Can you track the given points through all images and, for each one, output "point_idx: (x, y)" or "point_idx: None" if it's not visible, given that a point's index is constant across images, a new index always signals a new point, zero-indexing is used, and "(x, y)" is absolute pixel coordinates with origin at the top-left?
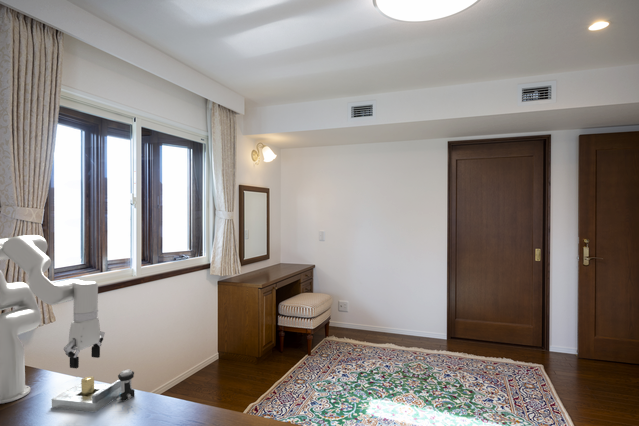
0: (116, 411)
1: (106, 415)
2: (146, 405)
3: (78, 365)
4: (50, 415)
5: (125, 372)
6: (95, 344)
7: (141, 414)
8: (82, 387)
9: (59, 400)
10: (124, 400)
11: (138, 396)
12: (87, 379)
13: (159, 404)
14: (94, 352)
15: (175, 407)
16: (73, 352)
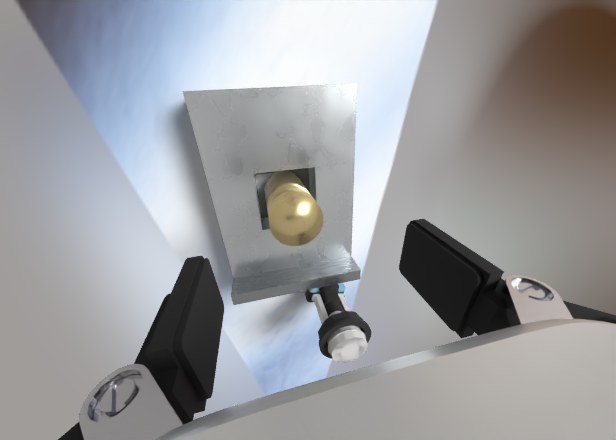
0: (260, 308)
1: (236, 304)
2: (303, 337)
3: (220, 320)
4: (154, 152)
5: (341, 354)
6: (506, 326)
7: (268, 355)
8: (267, 208)
9: (197, 141)
10: None
11: None
12: (290, 228)
13: (313, 352)
14: (429, 269)
15: (310, 377)
16: (177, 420)
